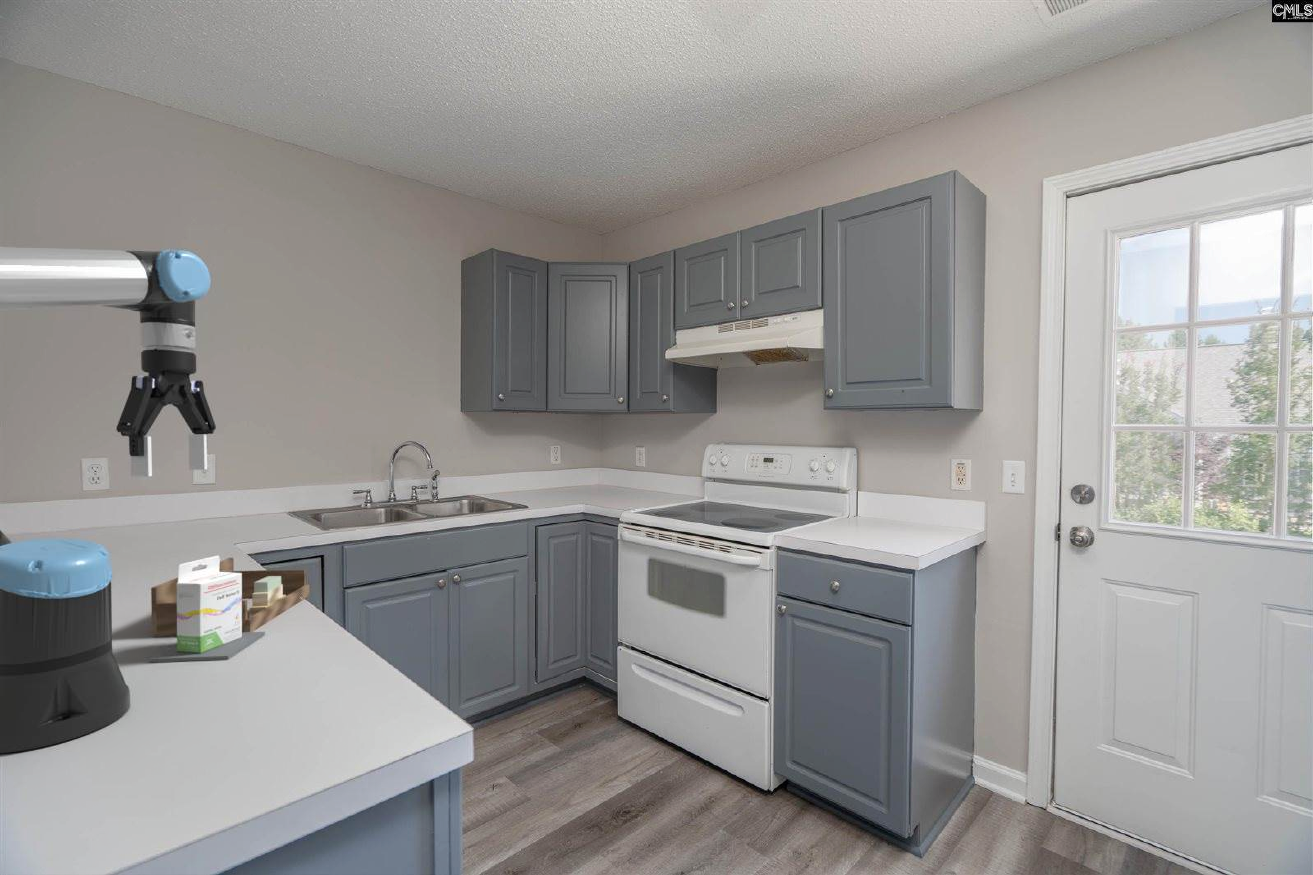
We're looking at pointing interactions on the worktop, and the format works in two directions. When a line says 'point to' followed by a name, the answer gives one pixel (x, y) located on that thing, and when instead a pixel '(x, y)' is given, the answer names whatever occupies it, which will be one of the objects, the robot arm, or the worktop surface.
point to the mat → (213, 654)
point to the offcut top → (267, 584)
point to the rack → (292, 588)
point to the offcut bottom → (260, 607)
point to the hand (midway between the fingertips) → (171, 472)
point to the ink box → (207, 606)
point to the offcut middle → (267, 596)
